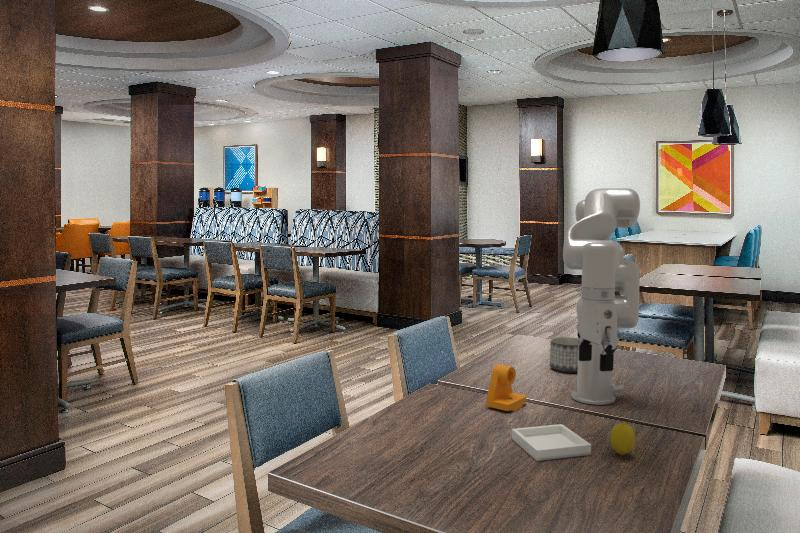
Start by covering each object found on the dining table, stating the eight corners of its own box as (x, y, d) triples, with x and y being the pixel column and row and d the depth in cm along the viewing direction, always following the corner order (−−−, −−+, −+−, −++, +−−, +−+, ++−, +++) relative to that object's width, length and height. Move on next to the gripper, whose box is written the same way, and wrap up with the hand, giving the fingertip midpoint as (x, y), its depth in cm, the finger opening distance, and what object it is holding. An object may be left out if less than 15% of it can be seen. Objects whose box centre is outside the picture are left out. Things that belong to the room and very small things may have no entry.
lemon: (605, 451, 152) (607, 418, 151) (628, 450, 152) (629, 418, 151) (615, 460, 146) (616, 427, 145) (638, 459, 147) (640, 426, 146)
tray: (561, 433, 163) (562, 424, 163) (590, 454, 150) (591, 444, 149) (511, 438, 160) (511, 429, 159) (536, 461, 146) (536, 450, 146)
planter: (557, 363, 232) (558, 335, 231) (592, 368, 224) (593, 339, 223) (544, 370, 221) (545, 341, 220) (579, 376, 214) (580, 346, 213)
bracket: (508, 414, 178) (508, 372, 176) (486, 408, 182) (486, 368, 181) (527, 404, 186) (528, 364, 184) (506, 399, 190) (506, 360, 189)
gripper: (633, 299, 142) (630, 374, 144) (593, 289, 159) (591, 356, 160) (602, 300, 140) (600, 376, 142) (565, 290, 157) (563, 357, 159)
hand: (595, 365), depth 151 cm, fingers open, 9 cm apart
